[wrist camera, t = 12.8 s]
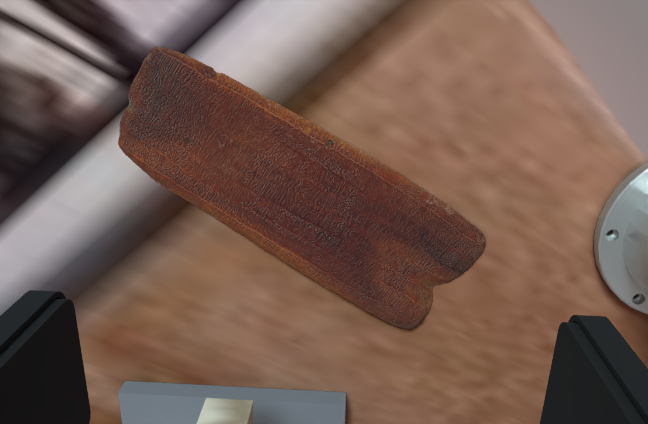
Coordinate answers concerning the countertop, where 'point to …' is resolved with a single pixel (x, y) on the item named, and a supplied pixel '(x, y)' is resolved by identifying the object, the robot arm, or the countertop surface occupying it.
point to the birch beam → (226, 411)
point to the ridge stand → (187, 399)
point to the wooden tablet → (294, 188)
